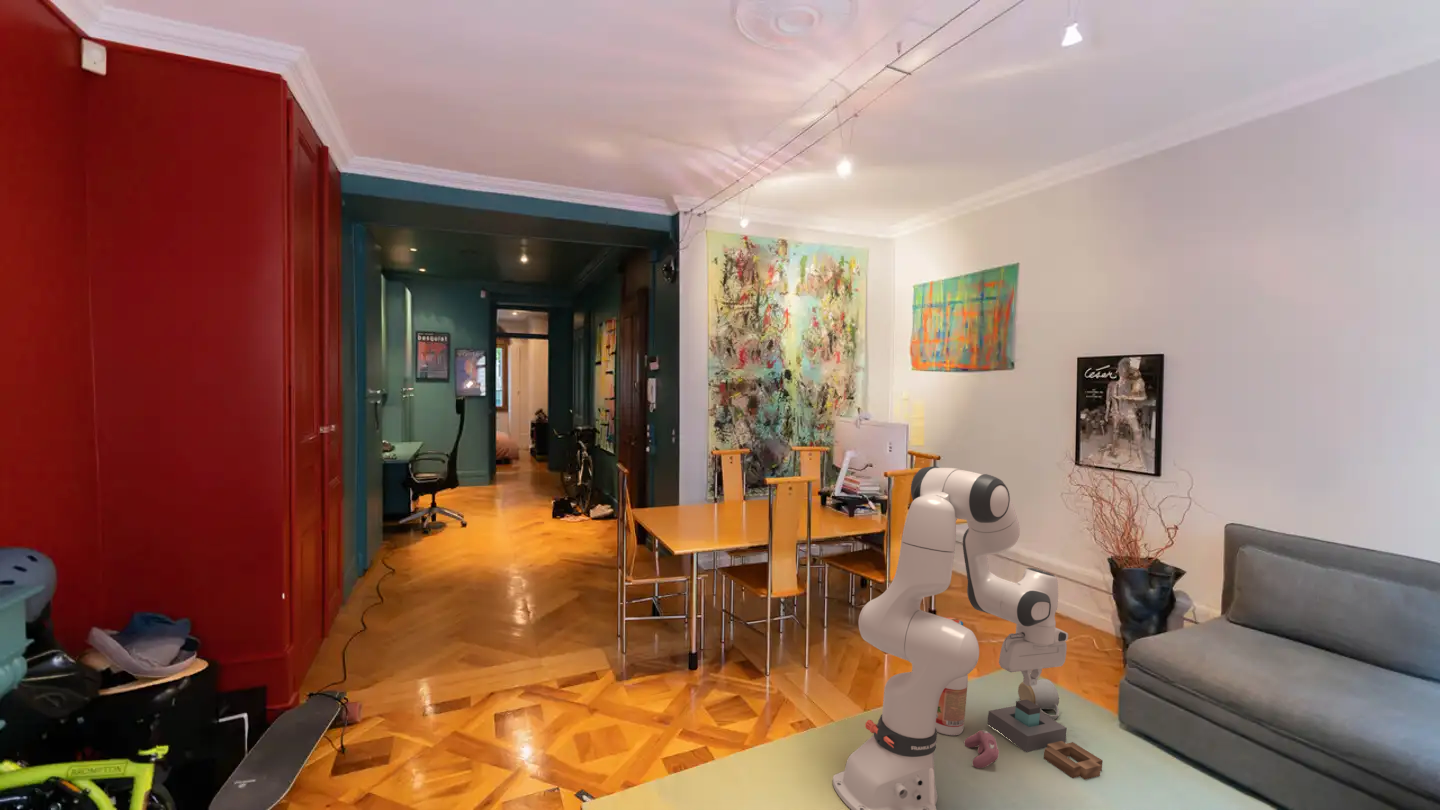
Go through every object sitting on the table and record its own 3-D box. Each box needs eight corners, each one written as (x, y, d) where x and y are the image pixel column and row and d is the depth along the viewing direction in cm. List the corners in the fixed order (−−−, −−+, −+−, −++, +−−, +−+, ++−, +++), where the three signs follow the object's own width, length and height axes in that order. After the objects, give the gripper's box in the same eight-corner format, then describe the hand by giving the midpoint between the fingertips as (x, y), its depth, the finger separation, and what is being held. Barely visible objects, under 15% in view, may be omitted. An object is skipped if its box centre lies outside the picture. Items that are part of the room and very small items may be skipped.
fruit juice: (961, 741, 149) (971, 631, 148) (922, 728, 153) (931, 621, 153) (965, 723, 157) (974, 619, 156) (928, 712, 162) (937, 611, 161)
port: (1026, 752, 146) (1027, 735, 146) (987, 725, 157) (988, 709, 157) (1065, 743, 151) (1067, 726, 151) (1025, 718, 163) (1026, 702, 162)
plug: (1026, 740, 152) (1029, 709, 151) (1013, 731, 155) (1016, 701, 155) (1037, 737, 153) (1040, 707, 153) (1024, 729, 157) (1027, 699, 157)
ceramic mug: (1014, 700, 172) (1017, 674, 172) (1039, 699, 174) (1042, 674, 173) (1040, 721, 162) (1043, 694, 161) (1066, 720, 163) (1069, 693, 163)
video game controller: (989, 778, 137) (1005, 754, 136) (971, 766, 138) (987, 742, 137) (978, 753, 147) (994, 730, 146) (961, 742, 148) (977, 719, 147)
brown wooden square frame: (1077, 781, 136) (1078, 771, 136) (1039, 755, 145) (1040, 745, 145) (1106, 773, 140) (1107, 763, 140) (1067, 749, 149) (1068, 739, 149)
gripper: (1016, 639, 147) (1010, 694, 147) (1073, 634, 155) (1067, 686, 155) (995, 629, 152) (990, 682, 152) (1051, 624, 160) (1046, 675, 160)
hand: (1029, 684), depth 154 cm, fingers closed
